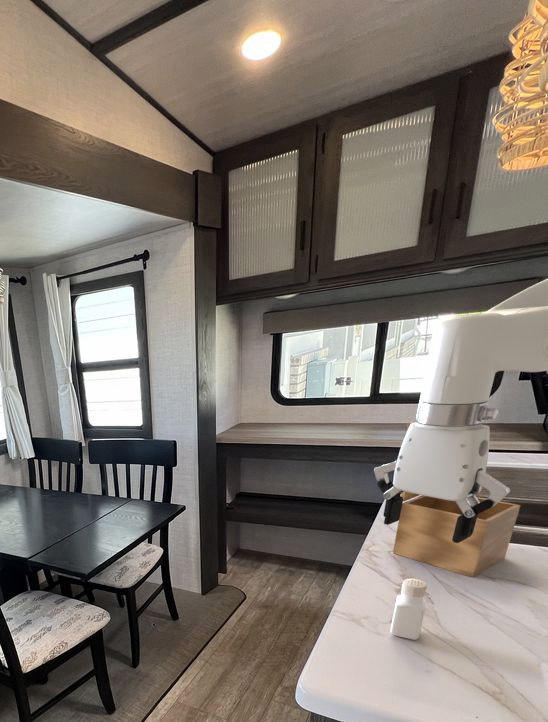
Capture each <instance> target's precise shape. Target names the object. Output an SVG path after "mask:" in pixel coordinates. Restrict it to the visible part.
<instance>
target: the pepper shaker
mask: <svg viewBox="0 0 548 722" xmlns="http://www.w3.org/2000/svg"><path fill="white" fill-rule="evenodd" d="M401 585H402V586H401V590H400V593H401V594H398V595H397V596H396V600H395V605H394V609H393V616H392V619H391V625H390V630H389V631H390V634H391V635H392V636H395V637H400V638H404V639H409V640H412V641H413V640H414V641H415V640H416V641H417V640H419V638H420V635H421V630H422V626H423V621H424V617H425V613H426V607H427V600H426V599H424V597H426V592H427V587H428V584H427V582H426V581H423V580H421V579H418V578H405V579H404V580H403V581H402V584H401Z"/></svg>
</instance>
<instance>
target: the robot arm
mask: <svg viewBox="0 0 548 722" xmlns="http://www.w3.org/2000/svg"><path fill="white" fill-rule="evenodd" d="M505 371H506V372H524V373H540V372H547V371H548V278H546V279H543V280H542V281H540V282H537V283H535V284H533V285H531V286H529V287H527V288H526V289H523V290H521V291H520V292H518V293H516V294H514V295H512V296H511V297H509V298H507V299H505V300H504V301H502V302H500V303H499V304H497V305H495V306H493V307H491V308H490V309H488V310H486V311H485V312H483V313H473V314H461V315H453V316H452V315H451V316H447V317H445V318H442V319H441V320H439V321H438V322H437V324H436V325H435V326H434V329H433V332H432V335H431V339H430V345H429V351H428V355H427V361H426V367H425V372H424V377H423V381H422V386H421V392H420V397H419V402H418V407H417V411H416V417H415V420H416V422H414V423H411V425H410V427H409V429H408V431H407V430H406V434H405V436H404V438H403V441H402V444H401V446H400V449H399V453H398V456H397V459H396V460H395V461H393V462H389V463H387V464H383V465H380V466H377V467H374V469H373V473H374V476H375V480H376V481H377V483H376V484H377V487H378V488H379V490H380V491H381V493H382V497H383V500H385V505H384V510H383V517H384V520H383V524H384V525H387V526H389V525H391V524H394V523H396V522H399V519H400V514H401V509H402V504H403V503H404V501H403V497H402V496H401V494H402V493H403V492H404V491H405V492H410V493H415V494H419V496H421V495H424V496H429V497H434V498H439V499H445V500H450V501H456V503H457V505H458V506H459V508H460V509H461V511H462V513H463V514H462V515H460V516H459V517H458V518H457V522H456V526H455V530H454V534H453V538H452V541H453V542H455V543H459V542H461V541H463V540H465V539H467V538H469V537H470V536H471V535H472V534H473V531H474V527H475V523H476V520H477V516H478V514H479V513H481V512H483V511H485V510H487V509H489V508H492V507H494V506H495V505H497V503H498V502H499V501H500V502H502V500H503V499H504V498H505V497H506V496H507V495H508V494H509V493H510V492H511V489H510V487H509V486H507V485H505V484H504V483H502V482H501V481H499V480H498V479H496V478H495V477H493V476H491V475H490V474H488V473H487V466H488V460H489V450H490V438H491V437H490V436H491V433H490V429H491V428H490V425H486V424H483V423H485V422H486V421H488V420H495V419H497V417H498V416H499V408H493V407H492V406H491V407H490V401H489V400H490V395H491V391H492V387H493V384H494V381H495V380H494V379H495V376H496V373H498V372H505ZM393 471H394V472H393ZM390 472H393V478H392V479H393V480H391V479H390V478H389V473H390ZM483 488H484V489H485V490H487V491H488V492H489V495H488V496H487V497H486V498H484V499H485V500H484V501H483V502H481V503H480V502H479V500H478V498H477V497H478V496H477V495H479V494H480V493H481V491H482V489H483Z"/></svg>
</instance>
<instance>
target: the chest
mask: <svg viewBox="0 0 548 722" xmlns="http://www.w3.org/2000/svg"><path fill="white" fill-rule="evenodd" d="M476 497H477V498H478V500H479V502H480V503H481V502H483V501H484V500H485V499H486V498H484V497H478V496H476ZM520 509H521V504H516V503H511V502H506V501H499V502H498V503H497V505H495V506H494V507H492V508H489V509H487V510H485V511H483V512H481V513H479V514H478V516H477V520H476V523H475V527H474V531H473V534H472V535H471V536H470V537H469V538H467V539H465V540H463V541H461V542H459V543H455V542H453V541H452V538H453V534H454V530H455V526H456V522H457V518H458V517H459V516H460V515H462V514H463V513H462V511H461V509H460V508H459V506H458V505H457V503H456V501H450V500H445V499H439V498H434V497H429V496H424V495H419V496H416V497H414V498H411V499H409V500H407V501H403V504H402V509H401V514H400V519H399V521H398V523H397V528H396V533H395V539H394V544H393V550H392V554H395V555H398V556H401V557H404V558H408V559H411V560H414V561H417V562H421V563H424V564H428V565H430V566H434V567H437V568H440V569H443V570H448V571H451V572H454V573H456V574H460V575H464V576H466V577H470V578H475V577H476V576H477V575H479V574H481V573H482V572H484V571H486V570H488V569H489V568H491V567H492V566H494V565H495V564H497V563H499V562H500V561H502V560H504V559H505V558H506V556H507V552H508V549H509V546H510V542H511V539H512V536H513V533H514V529H515V525H516V522H517V519H518V515H519V512H520Z"/></svg>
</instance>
